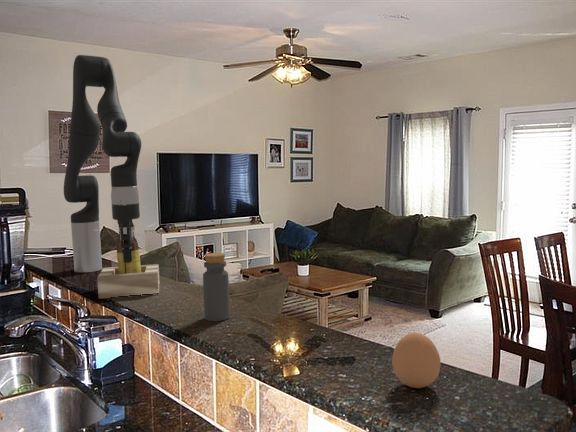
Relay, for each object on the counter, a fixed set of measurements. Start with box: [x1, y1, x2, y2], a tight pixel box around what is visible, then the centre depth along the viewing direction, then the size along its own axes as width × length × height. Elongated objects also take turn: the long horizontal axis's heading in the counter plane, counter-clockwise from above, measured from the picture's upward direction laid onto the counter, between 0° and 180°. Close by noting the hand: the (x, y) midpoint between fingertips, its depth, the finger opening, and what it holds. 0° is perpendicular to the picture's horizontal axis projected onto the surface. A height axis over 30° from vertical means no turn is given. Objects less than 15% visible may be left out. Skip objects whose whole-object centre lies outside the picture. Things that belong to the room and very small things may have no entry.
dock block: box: [96, 263, 161, 300], centre depth 156 cm, size 14×16×6 cm
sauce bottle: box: [115, 219, 142, 274], centre depth 155 cm, size 6×6×20 cm
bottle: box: [202, 252, 231, 322], centre depth 125 cm, size 6×6×15 cm
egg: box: [391, 332, 441, 389], centre depth 84 cm, size 7×7×8 cm
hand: (128, 260), depth 155 cm, fingers closed on sauce bottle, 6 cm apart
